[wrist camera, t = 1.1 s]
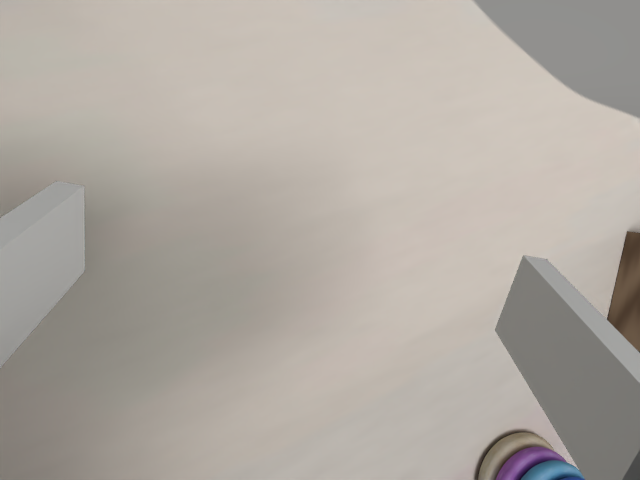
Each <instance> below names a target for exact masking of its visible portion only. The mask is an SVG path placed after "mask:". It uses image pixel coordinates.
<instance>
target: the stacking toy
mask: <svg viewBox="0 0 640 480" xmlns="http://www.w3.org/2000/svg"><path fill="white" fill-rule="evenodd" d="M478 480H585V478H584V477H583V475H582V473H581V472H580V471H579V470H578V469H577V468H576V467H574V466H573V465H571V464H569V463H567V462H566V461H565V459H564V458H563V457H562V456H560V455H559V454H558V453H556V452H555V451H554V449H553V448H552V446H551V445H550V444H549V443H548V442H547V441H546V440H544V439H543V438H542V437H540V436H538V435H535V434H532V433H526V432H521V433H515V434H511V435H509V436H506V437H504V438H503V439H501V440H500V441H498V442H497V443H496V444H495V445H494V446H493V447H492V448H491V449H490V451H489V452H488V453H487V455H486V457H485V458H484V460H483V463H482V465H481V468H480V472H479V477H478Z"/></svg>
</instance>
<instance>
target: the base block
mask: <svg viewBox="0 0 640 480" xmlns="http://www.w3.org/2000/svg"><path fill="white" fill-rule="evenodd" d="M607 320H608V321H609V322H610V323H611V324H612V325H613V326H614V327H615V328H616V329H617V330H618V331H619V332H620V333H621V334H622V335H623V336H624V337H625V338H626V340H627V341H628V342H629V343H630V344H631V345H632V346H633V347H634V348H635V349H637V350H638V351H640V233H635V232H627V236H626V240H625V244H624V249H623V253H622V258H621V262H620V266H619V271H618V275H617V280H616V284H615V288H614V293H613V297H612V302H611V306H610V311H609V315H608V319H607Z"/></svg>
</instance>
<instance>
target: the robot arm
mask: <svg viewBox="0 0 640 480" xmlns="http://www.w3.org/2000/svg"><path fill="white" fill-rule="evenodd" d="M84 271H85V211H84V185H78V184H72V183H65V182H59V181H56V182H54V183H53V184H51V185H50V186H48V187H47V188H45V189H43V190H42V191H40V192H39V193H37V194H36V195H34V196H33V197H31V198H30V199H28V200H27V201H25V202H24V203H22V204H21V205H19V206H18V207H16V208H15V209H13V210H11V211H10V212H8V213H7V214H5V215H4V216H2V217H1V218H0V368H1V367H2V366H3V364H4V363H5V362H6V361H7V360H8V359H9V358H10V356H11V355H12V354H13V353H14V352H15V351H16V350H17V348H18V347H19V346H20V345H21V344H22V343H23V341H24V340H25V339H26V338H27V337H28V336H29V335H30V333H31V332H32V331H33V330H34V329H35V328H36V327H37V325H38V324H39V323H40V322H41V321H42V320H43V319H44V317H45V316H46V315H47V314H48V313H49V312H50V310H51V309H52V308H53V307H54V306H55V305H56V304H57V302H58V301H59V300H60V299H61V298H62V297H63V296H64V294H65V293H66V292H67V291H68V290H69V289H70V288H71V286H72V285H73V284H74V283H75V282H76V281H77V280H78V278H79V277H80V276H81V275H82V274H83V273H84ZM495 331H496V333H497V334H498V336H499V338H500V339H501V341H502V343H503V344H504V346H505V347H506V349H507V351H508V352H509V354H510V356H511V357H512V359H513V361H514V362H515V364H516V366H517V367H518V369H519V371H520V372H521V374H522V376H523V377H524V379H525V381H526V382H527V384H528V386H529V387H530V389H531V391H532V392H533V394H534V396H535V397H536V399H537V401H538V402H539V404H540V406H541V407H542V409H543V410H544V412H545V414H546V415H547V417H548V419H549V420H550V422H551V424H552V425H553V427H554V429H555V430H556V432H557V434H558V435H559V437H560V439H561V440H562V442H563V444H564V445H565V447H566V449H567V450H568V452H569V454H570V455H571V457H572V459H573V460H574V462H575V464H576V465H577V467H578V469H579V470H580V472H581V473H582V475H583V477H584V478H585V480H640V351H638V350H637V349H635V348H634V347H633V346H632V345H631V344H630V343H629V342H628V341H627V340H626V338H625V337H624V336H623V335H622V334H621V333H620V332H619V331H618V330H617V329H616V328H615V327H614V326H613V325H612V324H611V323H610V322H609V321H608V320H607V319H606V318H605V317H604V316H603V315H602V314H601V313H600V312H599V311H598V310H597V309H596V308H595V307H594V306H593V305H592V304H591V303H590V302H589V301H588V300H587V299H586V298H585V297H584V296H583V295H582V294H581V293H580V292H579V291H578V290H577V289H576V288H575V287H574V286H573V285H572V284H571V283H570V282H569V281H568V280H567V279H566V278H565V277H564V276H563V275H562V274H561V273H560V272H559V271H558V270H557V269H556V268H555V267H554V266H553V265H552V264H551V263H550V262H549V261H548V260H547V259H543V258H537V257H530V256H524V255H523V257H522V260H521V263H520V265H519V268H518V270H517V273H516V276H515V278H514V281H513V284H512V286H511V289H510V291H509V294H508V297H507V299H506V302H505V305H504V307H503V310H502V313H501V315H500V318H499V320H498V323H497V326H496V328H495Z"/></svg>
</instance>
